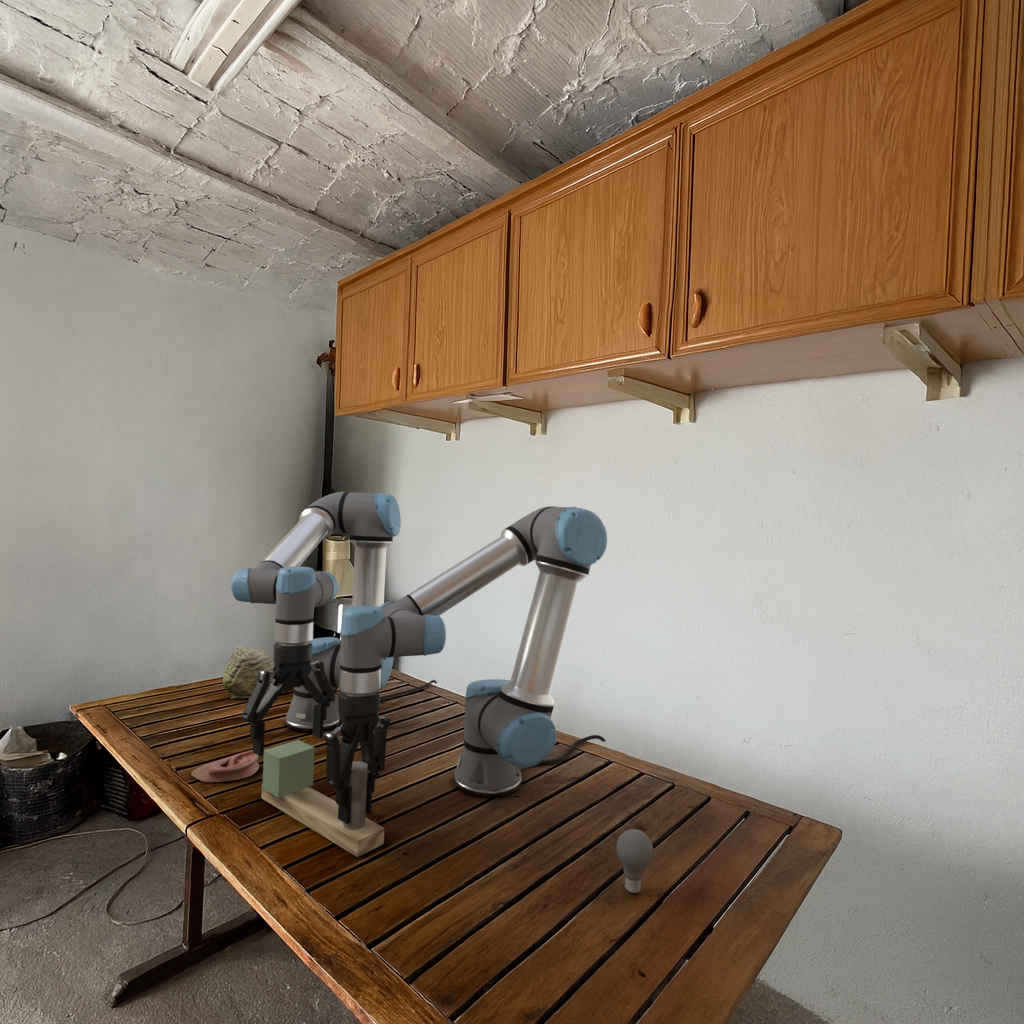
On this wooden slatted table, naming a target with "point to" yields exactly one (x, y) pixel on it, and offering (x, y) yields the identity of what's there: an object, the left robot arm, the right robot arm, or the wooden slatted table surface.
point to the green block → (288, 768)
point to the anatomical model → (228, 768)
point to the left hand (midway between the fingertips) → (289, 745)
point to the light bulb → (634, 857)
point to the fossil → (245, 671)
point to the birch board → (335, 814)
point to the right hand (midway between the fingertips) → (354, 815)
